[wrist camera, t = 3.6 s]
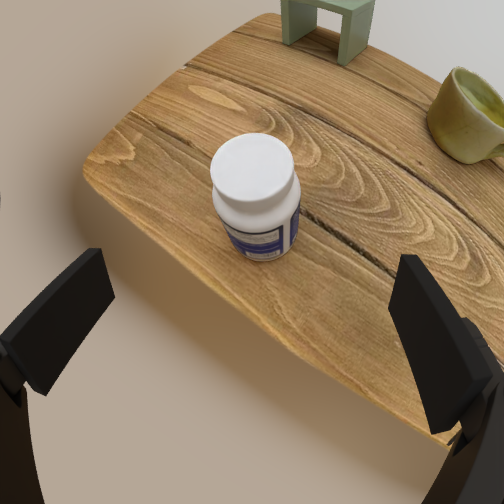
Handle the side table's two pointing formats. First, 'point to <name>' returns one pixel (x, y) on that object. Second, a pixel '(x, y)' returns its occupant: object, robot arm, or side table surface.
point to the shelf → (345, 3)
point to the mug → (467, 118)
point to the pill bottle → (257, 195)
